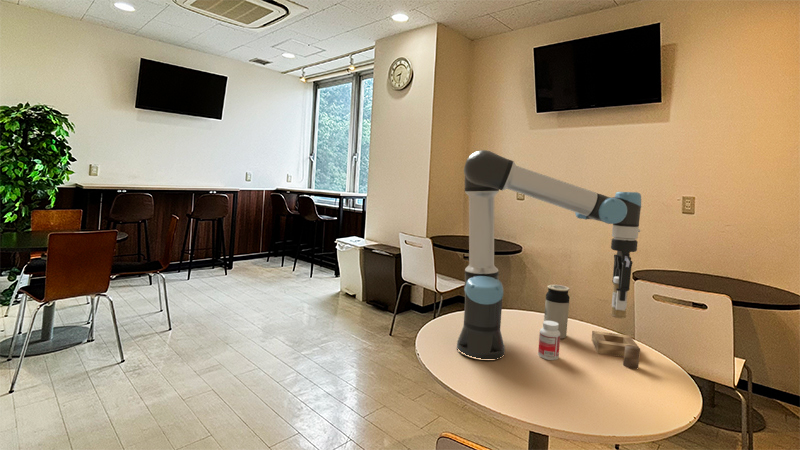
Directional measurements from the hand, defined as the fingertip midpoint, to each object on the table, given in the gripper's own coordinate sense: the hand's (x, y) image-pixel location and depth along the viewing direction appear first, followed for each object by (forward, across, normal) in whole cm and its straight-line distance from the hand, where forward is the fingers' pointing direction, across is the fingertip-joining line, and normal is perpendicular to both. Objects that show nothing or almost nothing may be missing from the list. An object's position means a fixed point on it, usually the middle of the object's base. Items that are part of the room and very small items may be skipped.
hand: (618, 307), depth 134 cm
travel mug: (+15, +6, +19) cm, 24 cm away
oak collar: (+14, 0, 0) cm, 14 cm away
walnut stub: (+15, -13, -2) cm, 20 cm away
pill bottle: (+15, -15, +22) cm, 31 cm away
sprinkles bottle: (+3, 0, 0) cm, 3 cm away
